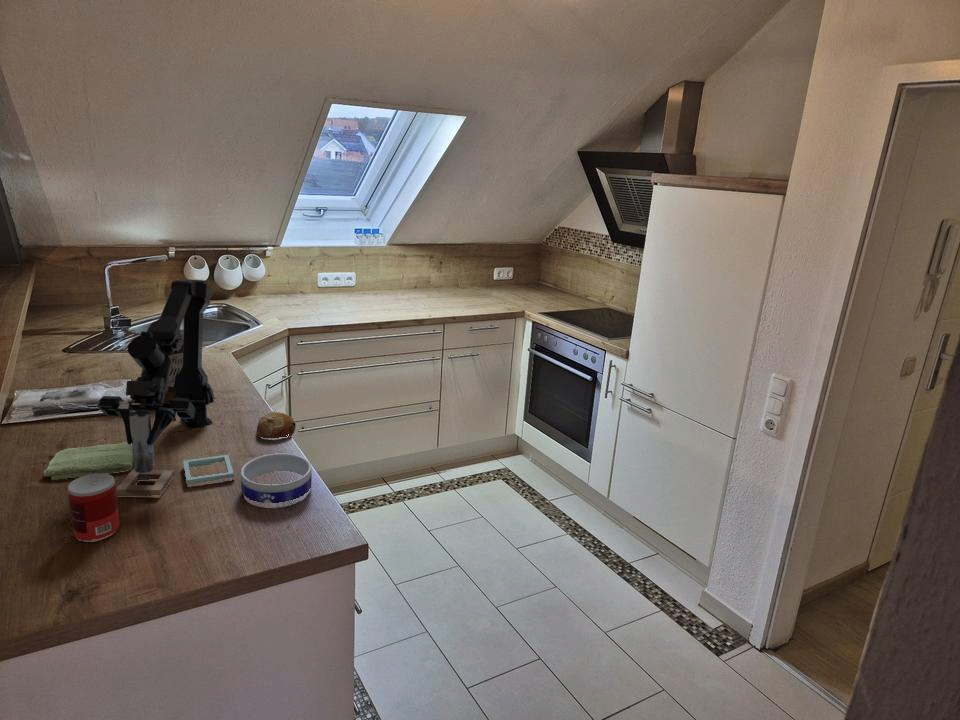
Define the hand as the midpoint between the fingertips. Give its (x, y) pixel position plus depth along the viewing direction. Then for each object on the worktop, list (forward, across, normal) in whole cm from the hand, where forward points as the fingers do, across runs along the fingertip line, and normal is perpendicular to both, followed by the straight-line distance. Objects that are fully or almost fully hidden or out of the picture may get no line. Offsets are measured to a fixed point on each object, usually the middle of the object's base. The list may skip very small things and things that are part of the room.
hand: (139, 444), depth 138 cm
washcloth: (0, -16, +17) cm, 23 cm away
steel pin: (+4, 0, +6) cm, 7 cm away
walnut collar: (+7, 0, +9) cm, 11 cm away
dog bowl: (+8, +28, +9) cm, 31 cm away
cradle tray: (+3, +12, +14) cm, 18 cm away
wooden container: (-33, -13, +50) cm, 61 cm away
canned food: (+20, -3, -3) cm, 20 cm away
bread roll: (-14, +22, +31) cm, 41 cm away
